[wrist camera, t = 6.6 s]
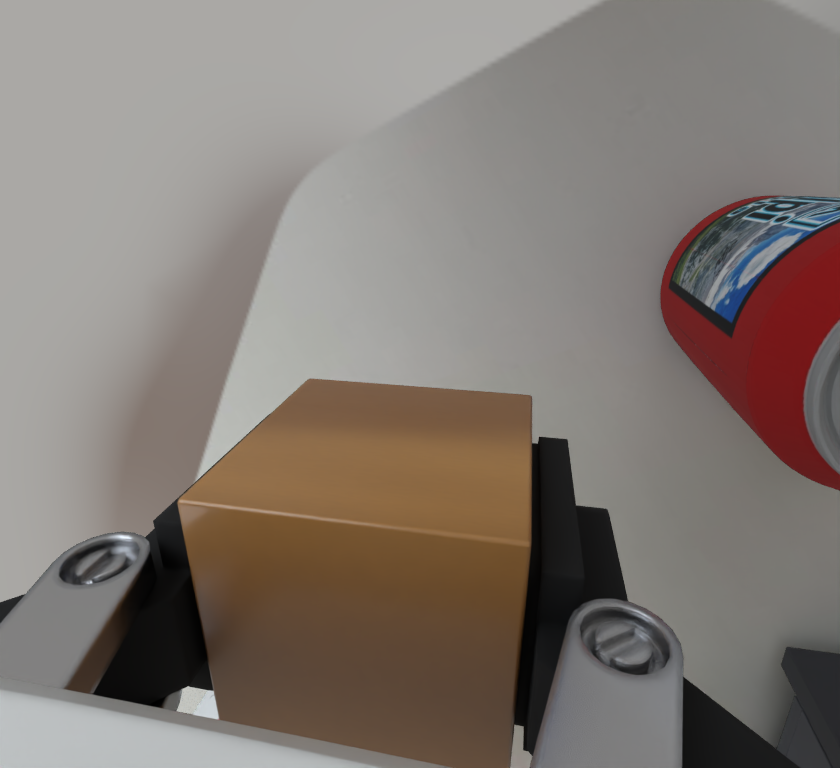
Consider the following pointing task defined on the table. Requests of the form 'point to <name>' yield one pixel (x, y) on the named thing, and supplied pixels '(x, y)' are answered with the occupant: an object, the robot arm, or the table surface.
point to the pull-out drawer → (812, 709)
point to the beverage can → (767, 321)
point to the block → (370, 569)
